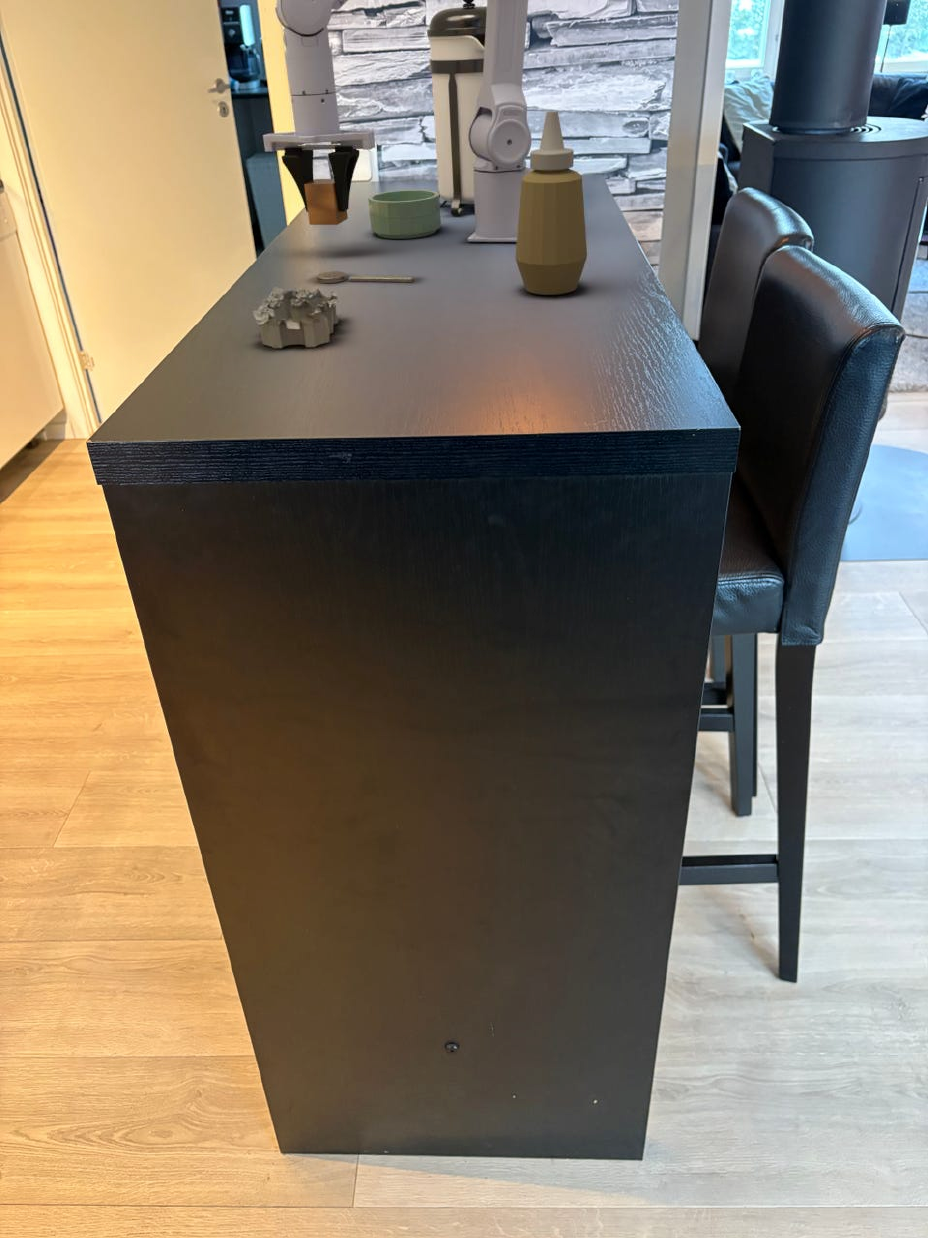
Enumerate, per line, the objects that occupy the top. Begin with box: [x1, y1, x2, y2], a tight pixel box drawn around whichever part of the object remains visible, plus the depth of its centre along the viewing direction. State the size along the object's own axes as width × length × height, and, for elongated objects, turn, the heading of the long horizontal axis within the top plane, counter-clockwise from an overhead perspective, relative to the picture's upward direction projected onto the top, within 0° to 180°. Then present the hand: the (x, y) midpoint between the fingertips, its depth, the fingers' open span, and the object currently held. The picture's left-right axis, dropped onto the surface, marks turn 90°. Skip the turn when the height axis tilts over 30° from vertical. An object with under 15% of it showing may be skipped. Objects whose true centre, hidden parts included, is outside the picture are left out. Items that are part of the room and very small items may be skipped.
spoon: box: [316, 270, 415, 284], centre depth 114 cm, size 12×4×1 cm, turn 76°
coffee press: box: [426, 0, 487, 217], centre depth 144 cm, size 17×16×30 cm
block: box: [304, 178, 349, 226], centre depth 123 cm, size 4×4×5 cm
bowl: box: [368, 189, 442, 240], centre depth 136 cm, size 10×10×5 cm
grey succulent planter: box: [252, 286, 339, 349], centre depth 95 cm, size 11×8×4 cm
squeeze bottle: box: [515, 110, 588, 296], centre depth 102 cm, size 8×8×18 cm
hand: (327, 210), depth 124 cm, fingers closed on block, 4 cm apart
